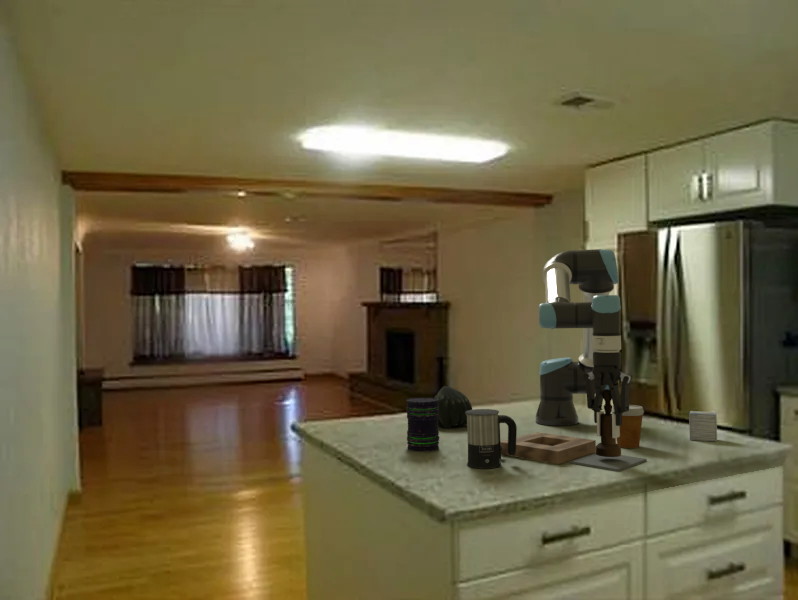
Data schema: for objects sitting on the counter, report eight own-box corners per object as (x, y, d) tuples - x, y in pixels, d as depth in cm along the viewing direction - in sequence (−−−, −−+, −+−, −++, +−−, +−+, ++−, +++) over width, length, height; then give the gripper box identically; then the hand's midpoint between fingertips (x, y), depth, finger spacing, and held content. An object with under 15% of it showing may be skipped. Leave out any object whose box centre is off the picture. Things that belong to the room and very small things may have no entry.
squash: (478, 414, 246) (469, 379, 256) (436, 417, 243) (428, 382, 253) (471, 435, 256) (463, 401, 266) (431, 439, 254) (424, 404, 264)
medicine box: (717, 439, 223) (716, 412, 223) (717, 442, 219) (716, 414, 219) (690, 437, 226) (689, 410, 226) (689, 440, 222) (688, 412, 222)
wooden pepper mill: (618, 452, 197) (617, 387, 197) (623, 457, 191) (622, 390, 191) (594, 452, 198) (593, 387, 198) (598, 457, 191) (597, 390, 191)
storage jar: (433, 452, 210) (432, 402, 210) (402, 451, 213) (401, 401, 213) (443, 446, 219) (442, 398, 219) (413, 444, 223) (412, 397, 223)
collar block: (499, 453, 207) (499, 441, 207) (537, 443, 221) (537, 432, 221) (558, 464, 193) (558, 451, 193) (595, 452, 207) (595, 440, 207)
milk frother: (476, 470, 187) (475, 414, 187) (449, 458, 202) (449, 406, 202) (522, 465, 193) (521, 410, 193) (493, 454, 207) (492, 403, 207)
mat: (570, 463, 194) (570, 461, 194) (600, 453, 205) (600, 451, 205) (618, 471, 184) (618, 469, 184) (646, 460, 195) (646, 458, 195)
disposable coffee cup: (644, 444, 218) (644, 405, 218) (644, 450, 209) (644, 409, 209) (612, 442, 221) (611, 404, 221) (611, 448, 212) (610, 408, 212)
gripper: (572, 350, 198) (573, 434, 198) (629, 353, 186) (630, 442, 186) (586, 349, 203) (587, 430, 203) (642, 351, 191) (644, 438, 191)
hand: (608, 436), depth 194 cm, fingers closed on wooden pepper mill, 4 cm apart
